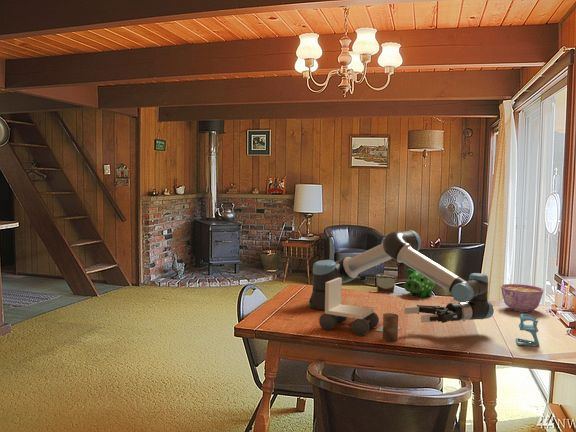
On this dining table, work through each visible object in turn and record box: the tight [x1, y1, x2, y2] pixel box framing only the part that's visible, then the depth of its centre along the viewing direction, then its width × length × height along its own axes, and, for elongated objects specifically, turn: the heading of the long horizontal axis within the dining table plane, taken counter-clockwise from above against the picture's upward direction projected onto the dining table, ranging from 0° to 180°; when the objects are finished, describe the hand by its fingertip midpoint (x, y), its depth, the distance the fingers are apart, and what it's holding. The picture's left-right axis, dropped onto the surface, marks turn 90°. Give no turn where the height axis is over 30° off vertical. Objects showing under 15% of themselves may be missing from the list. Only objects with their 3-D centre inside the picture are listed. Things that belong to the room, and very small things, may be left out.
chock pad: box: [375, 324, 401, 333], centre depth 216 cm, size 8×10×1 cm
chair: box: [515, 313, 540, 345], centre depth 199 cm, size 8×8×12 cm
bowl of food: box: [500, 283, 545, 313], centre depth 254 cm, size 20×20×12 cm
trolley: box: [318, 278, 380, 337], centre depth 216 cm, size 22×14×20 cm, turn 61°
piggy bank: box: [404, 268, 436, 298], centre depth 284 cm, size 14×18×15 cm
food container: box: [375, 273, 397, 294], centre depth 294 cm, size 12×6×10 cm, turn 71°
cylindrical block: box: [382, 312, 399, 343], centre depth 202 cm, size 6×6×10 cm
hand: (412, 314), depth 204 cm, fingers open, 13 cm apart
